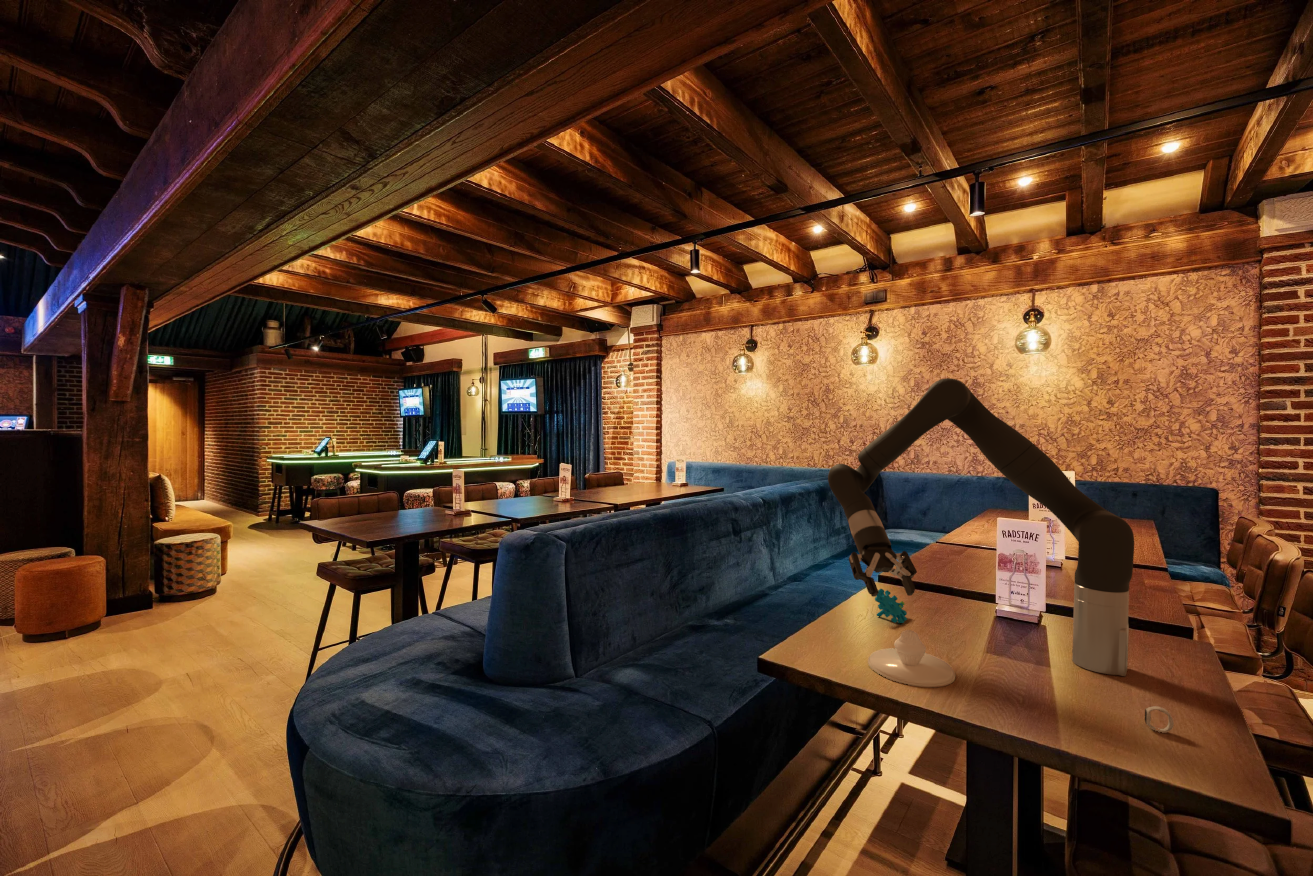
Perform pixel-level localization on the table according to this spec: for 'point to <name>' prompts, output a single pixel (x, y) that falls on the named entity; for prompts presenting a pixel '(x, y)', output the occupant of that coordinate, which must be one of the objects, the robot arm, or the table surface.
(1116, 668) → the robot arm
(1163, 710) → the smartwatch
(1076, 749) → the table surface
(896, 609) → the teal knobbly lump
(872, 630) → the table surface
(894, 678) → the plate
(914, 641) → the muffin
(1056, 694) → the table surface
